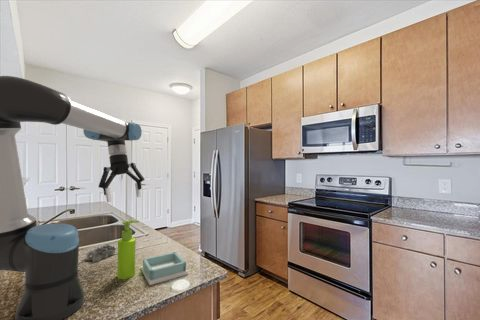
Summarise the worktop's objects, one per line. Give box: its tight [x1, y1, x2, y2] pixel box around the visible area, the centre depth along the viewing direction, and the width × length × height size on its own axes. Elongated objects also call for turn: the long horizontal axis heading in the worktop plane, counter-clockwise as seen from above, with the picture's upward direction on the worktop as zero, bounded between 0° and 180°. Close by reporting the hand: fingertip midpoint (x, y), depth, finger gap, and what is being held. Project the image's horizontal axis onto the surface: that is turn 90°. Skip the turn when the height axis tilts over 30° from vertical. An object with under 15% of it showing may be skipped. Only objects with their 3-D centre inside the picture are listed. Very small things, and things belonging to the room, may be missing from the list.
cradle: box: [140, 251, 189, 286], centre depth 88 cm, size 14×14×4 cm
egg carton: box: [85, 243, 117, 263], centre depth 101 cm, size 11×8×4 cm
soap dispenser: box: [116, 219, 139, 280], centre depth 85 cm, size 6×7×20 cm
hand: (124, 199), depth 107 cm, fingers open, 13 cm apart
